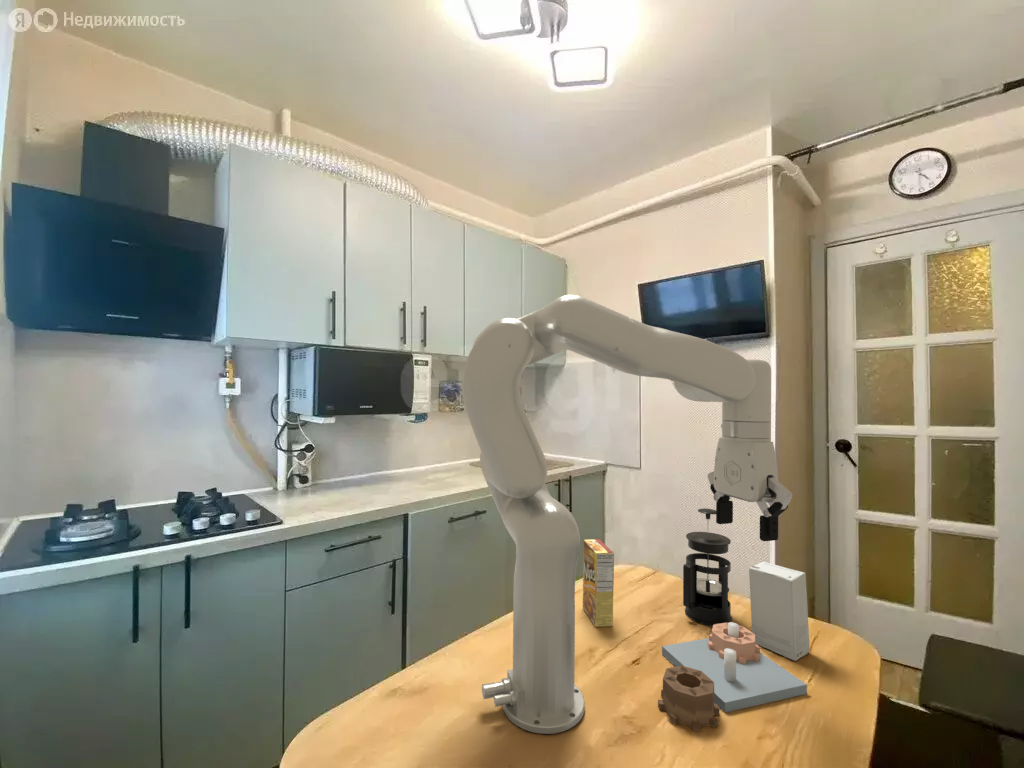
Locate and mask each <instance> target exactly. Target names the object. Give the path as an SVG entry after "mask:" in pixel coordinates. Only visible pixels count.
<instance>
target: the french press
mask: <svg viewBox="0 0 1024 768" xmlns="http://www.w3.org/2000/svg"><path fill="white" fill-rule="evenodd" d="M697 512H699V513H700V514H705V519H706V531H692V532H688V533H687V534H686V535H685V537H686V539H687V540H688V542H687V543H688V545H687V546H688V548H690V549H691V550H692V551H695V552H696V553H690V554H687V555H686V557H685V563H684V564H683V567H682V568H683V569H682V571H683V572H682V574H683V575H682V576H683V578H682V579H683V580H682V593H683V594H682V595H683V596H682V604H683V606H684V607H685V608H684V613H685V616H687V617H688V619H690V620H692V621H694V622H696V623H698V624H701V625H704V626H709V627H713V625H714V624H720V623H729V622H733V617H732V613H731V611H732V610H731V607H732V606H731V602H730V601H729V592H730V588H729V573H730V572H731V567H732V566H731V561H730V560H728V559H727V558H724V557H723V556H720V555H721V554H722V555H724V554H727V553H728V552H729V545H730V544H731V538H729V537H728V536H725V535H722V534H720V533H716V532H715V533H714V532H710V520H711V515H716V509H713V508H707V507H706V508H703V507H702V508H699V509H697ZM697 560H706V566H705V565H700V564H697V562H696V561H697ZM710 561H713V562H717V563H718V567H710ZM698 572H699V573H702V574H706V578H702V577H701V578H700V577H698V575H697V574H698ZM710 575H716V576H717V575H718V580H715V579H711V578H710Z"/></svg>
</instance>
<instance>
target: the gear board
mask: <svg viewBox="0 0 1024 768" xmlns="http://www.w3.org/2000/svg"><path fill="white" fill-rule="evenodd" d="M760 651H761V646H760V645H757V644H755V634H754V633H752V630H751V631H750V630H749V629H748V628H746V627H744V626H743V625H739V624H738V623H736V622H733V621H731V622H729V623H720V624H714V625H713V626H712V630H711V633H710V634H709V635H708V637H707V638H701V639H695V640H689V641H684V642H677V643H672V644H666V645H661V655H662V656H663V657H664V658H665V659H667V661H669V662H670V664H672V665H673V667H677V666H685V667H689V668H693V669H696V670H700V671H702V672H703V673H704V674H705V675H707V676H708V677H709V678H710V679H711V680H712V681H713V682H714V704H717V705H718V707H719V709H720V710H721V711H722V712H724V713H729V712H733V711H738V710H742V709H747V708H750V707H751V708H752V707H754V706H755V707H756V706H759V705H765V704H769V703H773V702H776V701H777V702H778V701H781V700H786V699H790V698H791V699H792V698H795V697H798V696H803V695H808V685H807V683H806V682H804V681H802V680H801V679H800V678H798V677H796V676H795V675H794V674H793V673H791V672H789V671H788V670H787V669H785V668H783V667H782V666H780V665H779V664H778V663H777V662H775V661H773V660H772V659H771V658H769V657H768V656H766V655H765V654H763V653H761V652H760Z"/></svg>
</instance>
